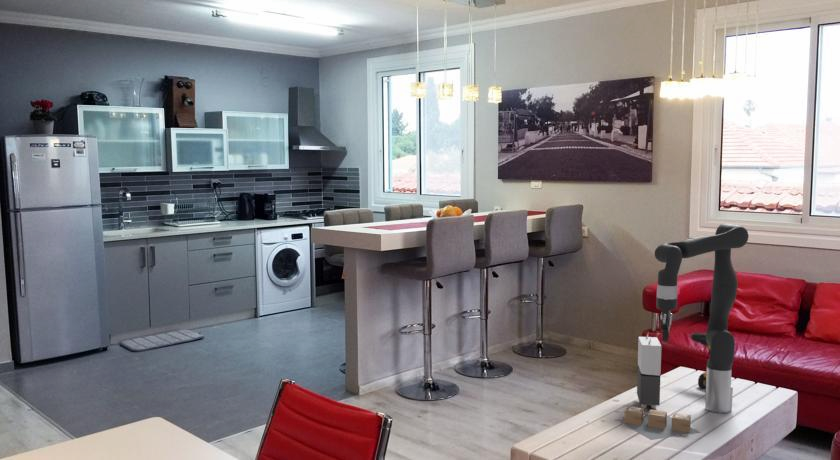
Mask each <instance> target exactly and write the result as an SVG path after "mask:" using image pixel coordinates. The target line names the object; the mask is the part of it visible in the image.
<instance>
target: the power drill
mask: <svg viewBox="0 0 840 460" xmlns="http://www.w3.org/2000/svg"><path fill="white" fill-rule="evenodd" d="M689 337H690V338H691V339H692V341H693V342H696V343H699V344H701V345H703V346H705V347H706V349H707V350H708V355H709V356H710V353H711V347H710V346H709V345H708V344H707V342H706V332H702V333H701V332H694V333H692V334H690V335H689ZM706 377H707V370H706V371H704V372H703V373H701V374H700V375H699V376H698V379H697V384H698V385H697V386H698V387H699V388H701V389H705V390H706Z"/></svg>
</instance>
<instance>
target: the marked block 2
mask: <svg viewBox="0 0 840 460" xmlns="http://www.w3.org/2000/svg"><path fill="white" fill-rule="evenodd" d="M671 418H672V431H676V432H683V433H689V431H690V427H691V421H692V420H691V419H692V415H691V414H686V413H678V412H673V414H672V416H671Z"/></svg>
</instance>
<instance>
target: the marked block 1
mask: <svg viewBox="0 0 840 460" xmlns="http://www.w3.org/2000/svg"><path fill="white" fill-rule="evenodd" d="M644 413H645V408H642V407H636V406H629V405H628V406H627V407H626V409H625V411H624V418H625V424H631V425H637V426H641V425H642V423H643V421H644V416H645V414H644Z"/></svg>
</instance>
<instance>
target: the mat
mask: <svg viewBox="0 0 840 460" xmlns="http://www.w3.org/2000/svg"><path fill="white" fill-rule="evenodd" d="M615 421H617V422H618V423H620V424H622V425H624V426H625V427H627V428H628V429H631V430H633V431H634V432H636V433H638V434H639V435H642V436H643V437H645V438H648V439H649V440H651V441H652V440H659V439H668V438H675V437H681V436H686V435H687V436H688V435H693V434H701V433H702V432H701V431H699V430H697V429H695V428H693V427H691V426H690V431H689V433H683V432H676V431H672V416H669V415H667V425H666V427H665V430H663V429H657V428H650V427H648V414H647V415H644V421H643V423H642V425H641V426H637V425H631V424H625V417H624V418H623V417H622V418H617V419H615Z"/></svg>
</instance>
